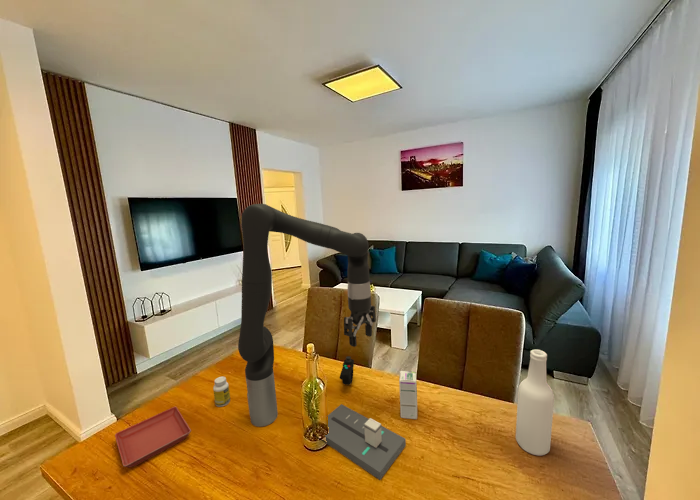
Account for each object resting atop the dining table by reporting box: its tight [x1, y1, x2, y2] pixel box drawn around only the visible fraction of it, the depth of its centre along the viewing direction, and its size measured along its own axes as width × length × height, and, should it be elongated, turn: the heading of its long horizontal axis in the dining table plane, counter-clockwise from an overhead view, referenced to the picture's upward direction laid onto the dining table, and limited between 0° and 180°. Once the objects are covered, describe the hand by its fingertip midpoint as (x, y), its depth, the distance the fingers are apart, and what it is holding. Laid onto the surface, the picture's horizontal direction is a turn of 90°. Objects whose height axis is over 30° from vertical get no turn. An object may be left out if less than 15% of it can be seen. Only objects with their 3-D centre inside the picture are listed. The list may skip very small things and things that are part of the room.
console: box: [325, 403, 407, 481], centre depth 93 cm, size 26×14×3 cm, turn 50°
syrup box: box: [398, 370, 418, 420], centre depth 103 cm, size 6×6×14 cm
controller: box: [339, 355, 355, 386], centre depth 121 cm, size 4×12×10 cm, turn 169°
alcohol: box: [515, 348, 555, 457], centre depth 86 cm, size 9×9×30 cm
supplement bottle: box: [212, 376, 231, 408], centre depth 113 cm, size 5×5×10 cm
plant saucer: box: [114, 406, 192, 468], centre depth 97 cm, size 18×18×3 cm
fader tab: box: [364, 417, 382, 448], centre depth 88 cm, size 4×3×6 cm
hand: (361, 340), depth 99 cm, fingers open, 8 cm apart
